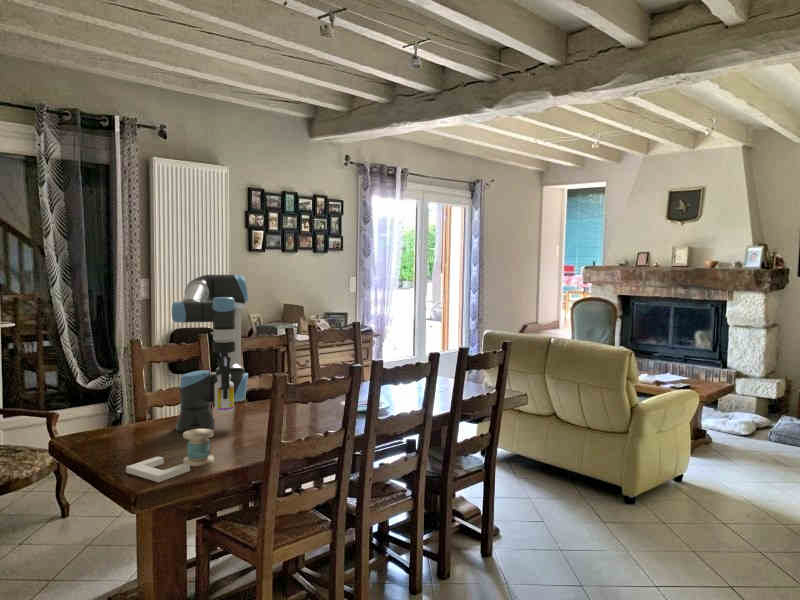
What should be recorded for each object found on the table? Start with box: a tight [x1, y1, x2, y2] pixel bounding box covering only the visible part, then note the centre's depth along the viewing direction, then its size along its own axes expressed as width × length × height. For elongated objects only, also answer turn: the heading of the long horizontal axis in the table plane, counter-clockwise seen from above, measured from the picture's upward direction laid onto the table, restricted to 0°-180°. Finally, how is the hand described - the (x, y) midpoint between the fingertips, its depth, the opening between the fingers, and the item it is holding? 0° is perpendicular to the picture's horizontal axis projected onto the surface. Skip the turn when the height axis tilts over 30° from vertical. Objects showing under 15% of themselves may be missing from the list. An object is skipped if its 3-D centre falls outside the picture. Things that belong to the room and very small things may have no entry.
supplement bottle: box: [213, 374, 235, 414], centre depth 211 cm, size 7×7×13 cm
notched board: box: [125, 456, 191, 483], centre depth 194 cm, size 12×16×2 cm
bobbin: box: [182, 429, 215, 467], centre depth 205 cm, size 10×10×10 cm
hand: (224, 405), depth 211 cm, fingers closed on supplement bottle, 7 cm apart
